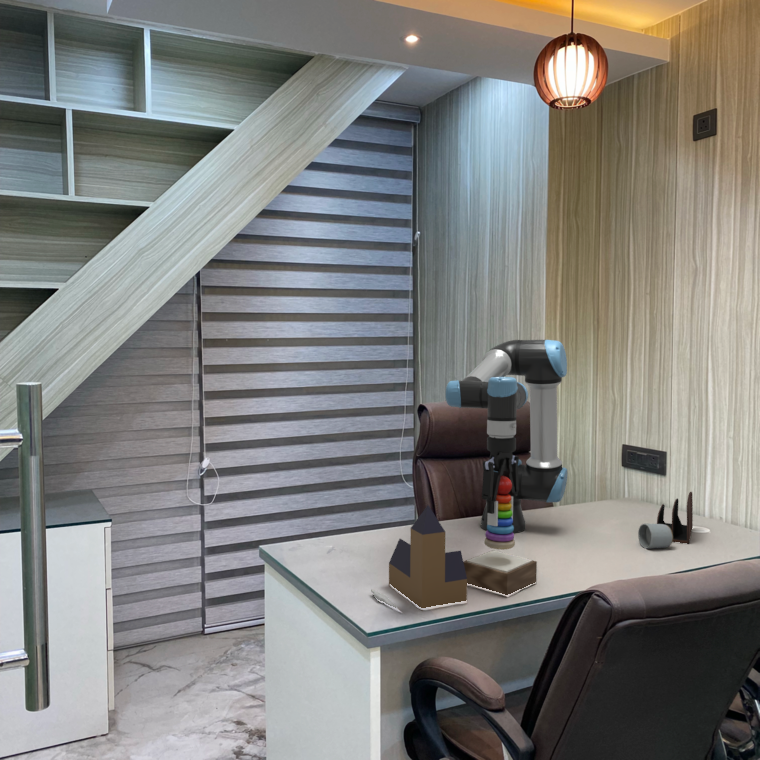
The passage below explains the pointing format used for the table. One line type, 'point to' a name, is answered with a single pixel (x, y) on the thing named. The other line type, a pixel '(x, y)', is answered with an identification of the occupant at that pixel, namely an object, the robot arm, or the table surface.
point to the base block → (500, 572)
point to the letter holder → (679, 531)
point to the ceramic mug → (655, 536)
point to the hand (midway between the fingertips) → (500, 522)
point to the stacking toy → (502, 519)
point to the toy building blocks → (428, 566)
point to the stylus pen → (383, 598)
